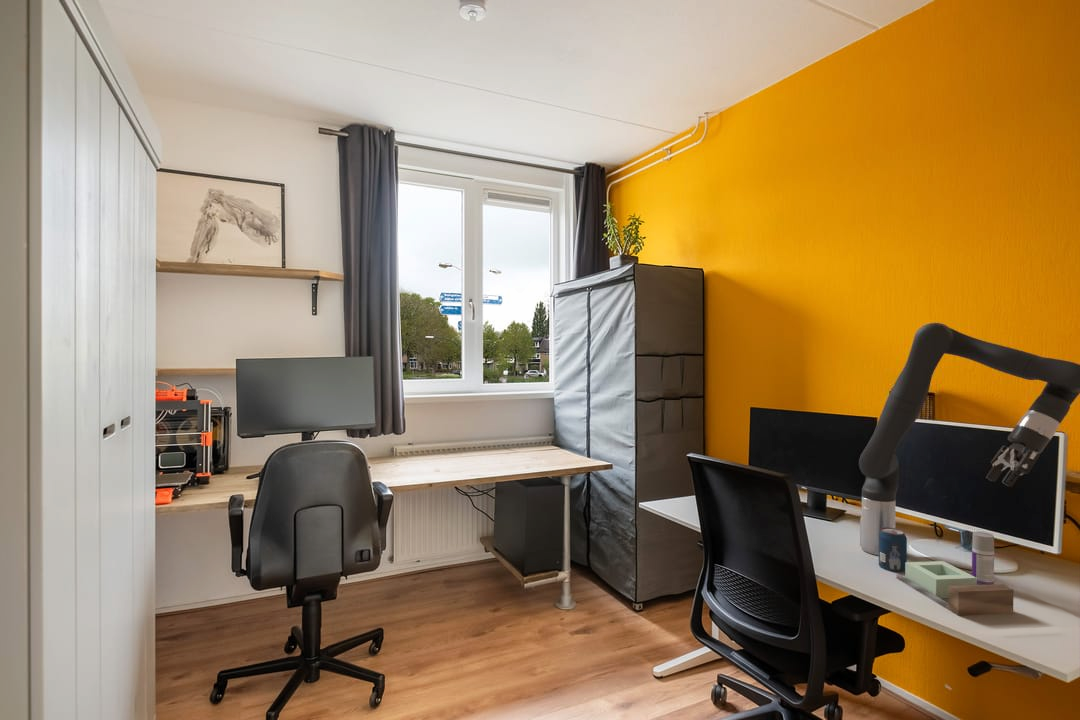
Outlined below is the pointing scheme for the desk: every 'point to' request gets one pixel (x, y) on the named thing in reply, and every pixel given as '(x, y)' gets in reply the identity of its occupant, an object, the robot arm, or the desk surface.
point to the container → (983, 558)
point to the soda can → (892, 549)
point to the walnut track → (972, 598)
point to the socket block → (937, 576)
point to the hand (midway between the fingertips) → (997, 482)
